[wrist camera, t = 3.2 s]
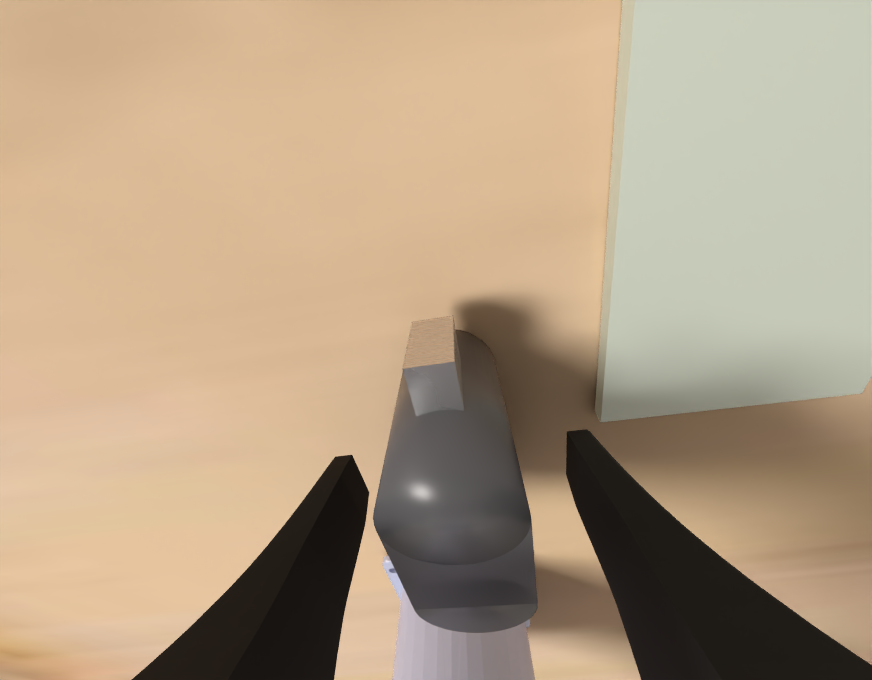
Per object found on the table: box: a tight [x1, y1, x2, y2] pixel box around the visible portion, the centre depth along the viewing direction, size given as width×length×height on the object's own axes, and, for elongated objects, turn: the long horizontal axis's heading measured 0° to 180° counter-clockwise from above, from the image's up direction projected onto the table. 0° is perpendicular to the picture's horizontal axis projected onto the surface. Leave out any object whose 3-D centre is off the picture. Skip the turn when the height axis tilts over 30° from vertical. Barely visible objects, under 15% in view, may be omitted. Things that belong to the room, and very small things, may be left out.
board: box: [595, 0, 872, 422], centre depth 9 cm, size 14×9×1 cm, turn 11°
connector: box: [373, 316, 537, 633], centre depth 10 cm, size 9×4×6 cm, turn 11°
